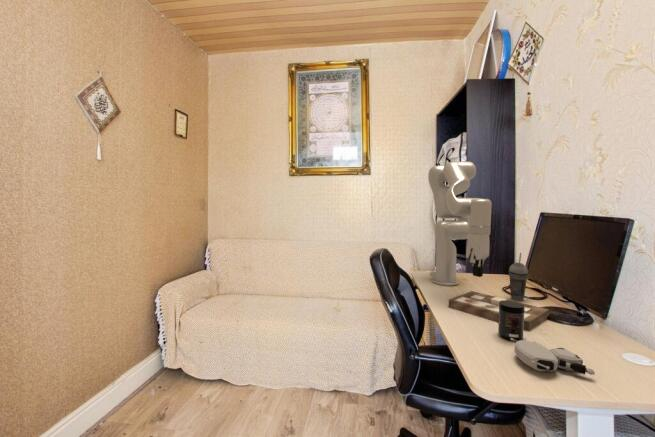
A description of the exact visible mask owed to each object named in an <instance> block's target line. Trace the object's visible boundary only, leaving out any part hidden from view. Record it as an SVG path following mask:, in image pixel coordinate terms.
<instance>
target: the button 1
mask: <svg viewBox="0 0 655 437" xmlns="http://www.w3.org/2000/svg"><path fill="white" fill-rule="evenodd" d="M470 298H472V299H476V300H480V301H482V300H484V299H485V297H481V296H477V295H474V296H471V297H470Z"/></svg>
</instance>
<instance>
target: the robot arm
mask: <svg viewBox="0 0 655 437" xmlns="http://www.w3.org/2000/svg"><path fill="white" fill-rule="evenodd" d="M476 175H477V167H476V165H475V164H474V163H473V162H472V161H456V160H455V161H450V162H446V163H445V164H441V165H435V166H431V168H429V170H428V176H427V177H428V179H427V180H428V184H429V187H430V189H431V192H432V193H433V201H434V209H435V210H434V211H435V214H436V217H437V218H440V219H441V220H439V221H437V222H436V223H435V225H434V235H435V248H436V250H435V271H430V272H429V276H430V277H433V278H432V279H431V280H432V283H434V284H436V285H440V286H446V287H449V286H450V287H451V286H453V287H454V286H457V285H459V284H460V281H459V279H456V278H457V247H456V246H457V245H455V243H454V242H453V241H452V240H467V242H466V253H465V257H466V259H469V263H471V265H472V276H474V277H478V278H481V277H483V276H484V265H485V261H486V260H487V258H489V256H490V235H491V228H492V227H491V223H492V201H491V200H490V199H488V198H481V197H457V196H458V195H460V194H463V193H465V192H466V191H467V190H469V188H470V186H471V180H473V179H474V178H475V177H476ZM445 183H447V184H448V186H449V187H448V186H447V185H446V184H445ZM442 219H443V220H442ZM444 219H445V220H444ZM450 219H451V220H450ZM452 219H453V220H452ZM456 219H457V220H456Z"/></svg>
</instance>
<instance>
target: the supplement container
mask: <svg viewBox="0 0 655 437" xmlns="http://www.w3.org/2000/svg"><path fill="white" fill-rule="evenodd" d="M509 300H510V299H507V300H502V301H499V322H498V327H497V328H498V329H497V331H498V332H497V333H498V335H499V337H500V338H502V339H505V340H507V341H511V342H514V341H513V340H511V339H510V338H512V339H514V340H517V341H520V340H522V341H523V339H524V331H525V330H524V311H525V310H524V309H525V305H524V304H525V303H524V304H522V303H523V302H520V301H515V300H511V301H509ZM519 302H520V303H519Z"/></svg>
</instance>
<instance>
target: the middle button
mask: <svg viewBox="0 0 655 437" xmlns="http://www.w3.org/2000/svg"><path fill="white" fill-rule="evenodd" d="M502 300H508V299H507V298H503V299H502V297H499V298H498V296H495V297H494V298H492V299H491V303H492V304H495V305H499V301H502Z"/></svg>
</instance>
